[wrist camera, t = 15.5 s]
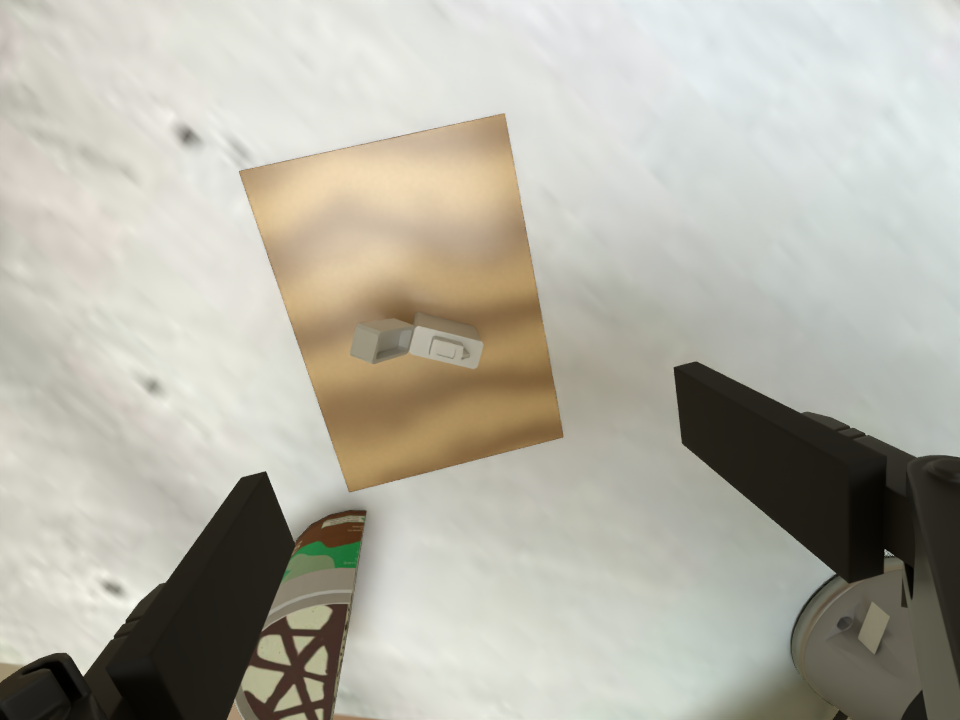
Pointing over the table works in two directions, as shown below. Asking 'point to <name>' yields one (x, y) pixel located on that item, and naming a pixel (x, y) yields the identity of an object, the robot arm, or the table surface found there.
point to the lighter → (418, 340)
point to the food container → (306, 626)
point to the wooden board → (411, 295)
